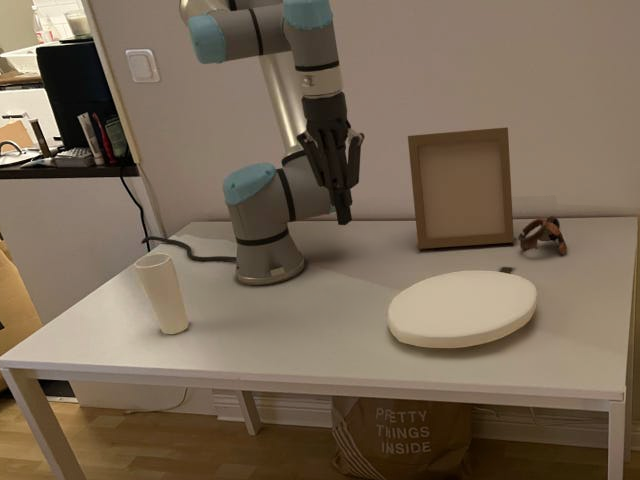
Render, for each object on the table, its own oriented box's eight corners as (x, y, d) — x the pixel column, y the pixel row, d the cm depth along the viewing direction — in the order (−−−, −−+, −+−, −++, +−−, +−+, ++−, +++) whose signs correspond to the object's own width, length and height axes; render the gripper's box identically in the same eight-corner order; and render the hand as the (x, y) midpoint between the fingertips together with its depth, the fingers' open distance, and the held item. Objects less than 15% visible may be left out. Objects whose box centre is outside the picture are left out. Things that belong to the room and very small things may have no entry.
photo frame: (514, 246, 162) (508, 134, 149) (418, 252, 164) (404, 143, 151) (512, 222, 174) (507, 117, 161) (424, 228, 176) (411, 125, 163)
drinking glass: (165, 321, 146) (142, 254, 139) (197, 319, 146) (175, 251, 138) (153, 338, 141) (127, 268, 133) (186, 336, 140) (163, 266, 132)
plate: (373, 338, 122) (394, 272, 145) (383, 370, 125) (401, 300, 148) (537, 314, 118) (532, 250, 140) (542, 347, 121) (536, 279, 143)
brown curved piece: (563, 263, 153) (543, 234, 149) (528, 275, 159) (508, 247, 155) (578, 229, 160) (559, 200, 156) (544, 241, 166) (525, 214, 162)
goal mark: (490, 284, 146) (490, 283, 146) (503, 268, 152) (503, 266, 152) (500, 285, 146) (500, 284, 145) (512, 268, 152) (512, 267, 152)
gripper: (278, 98, 123) (305, 227, 135) (344, 99, 118) (366, 232, 131) (302, 88, 128) (325, 212, 141) (365, 88, 123) (384, 217, 136)
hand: (345, 222), depth 136 cm, fingers closed
